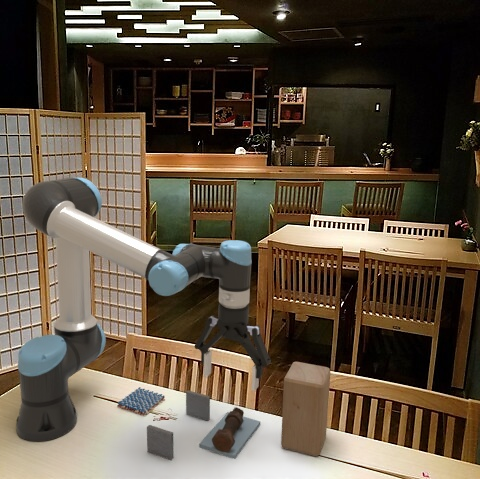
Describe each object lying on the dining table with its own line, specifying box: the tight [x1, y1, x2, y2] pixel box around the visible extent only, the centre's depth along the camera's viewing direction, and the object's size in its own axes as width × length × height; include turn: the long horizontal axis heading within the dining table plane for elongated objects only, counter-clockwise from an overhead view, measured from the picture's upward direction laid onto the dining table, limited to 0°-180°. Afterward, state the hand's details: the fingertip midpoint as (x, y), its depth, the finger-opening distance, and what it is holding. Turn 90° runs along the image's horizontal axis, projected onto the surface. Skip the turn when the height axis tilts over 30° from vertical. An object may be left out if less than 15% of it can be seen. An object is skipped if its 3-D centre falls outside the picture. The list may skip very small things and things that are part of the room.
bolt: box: [212, 406, 245, 452], centre depth 129 cm, size 6×5×15 cm
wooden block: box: [280, 361, 331, 457], centre depth 126 cm, size 10×10×20 cm
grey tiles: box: [146, 389, 211, 461], centre depth 130 cm, size 7×19×7 cm, turn 155°
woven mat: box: [116, 386, 166, 417], centre depth 145 cm, size 10×11×2 cm
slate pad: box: [198, 411, 261, 460], centre depth 130 cm, size 10×16×1 cm, turn 155°
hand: (230, 381), depth 127 cm, fingers open, 13 cm apart
